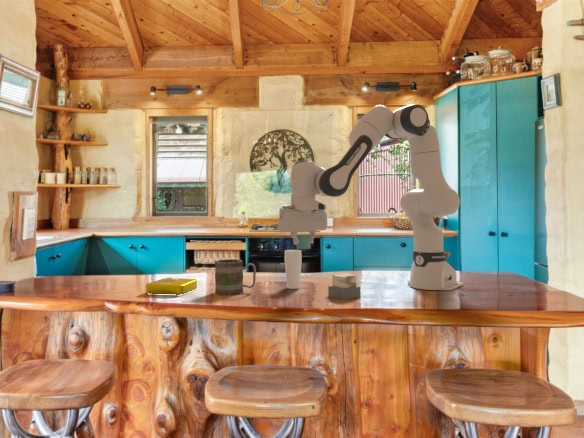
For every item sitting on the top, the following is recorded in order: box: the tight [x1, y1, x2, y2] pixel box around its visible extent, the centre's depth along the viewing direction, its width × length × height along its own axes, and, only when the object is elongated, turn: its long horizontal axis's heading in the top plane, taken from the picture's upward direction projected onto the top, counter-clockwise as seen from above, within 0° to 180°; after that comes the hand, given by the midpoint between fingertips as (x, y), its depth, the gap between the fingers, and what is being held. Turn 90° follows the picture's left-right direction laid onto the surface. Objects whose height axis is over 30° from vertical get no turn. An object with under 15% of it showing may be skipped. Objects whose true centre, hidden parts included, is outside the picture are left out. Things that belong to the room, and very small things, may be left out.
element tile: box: [145, 277, 198, 295], centre depth 157 cm, size 15×15×5 cm
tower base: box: [327, 284, 361, 301], centre depth 145 cm, size 8×8×4 cm
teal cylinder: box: [296, 233, 311, 250], centre depth 147 cm, size 5×5×5 cm
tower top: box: [331, 272, 357, 288], centre depth 146 cm, size 6×6×4 cm
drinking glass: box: [284, 249, 303, 290], centre depth 161 cm, size 7×7×15 cm
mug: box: [214, 258, 257, 297], centre depth 154 cm, size 16×11×12 cm
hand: (303, 243), depth 147 cm, fingers closed on teal cylinder, 5 cm apart
